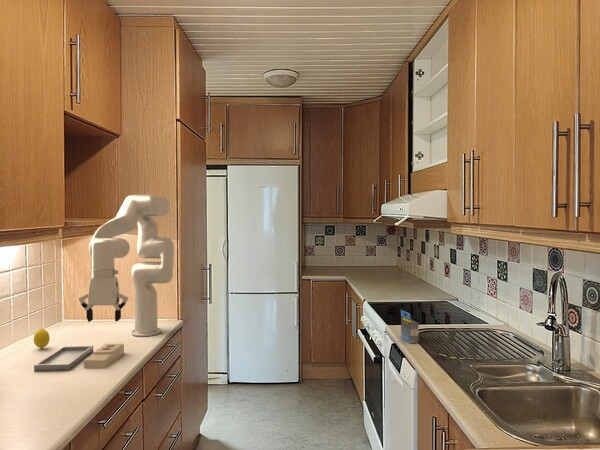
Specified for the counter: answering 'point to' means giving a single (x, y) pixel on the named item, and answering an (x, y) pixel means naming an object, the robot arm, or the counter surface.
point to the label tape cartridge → (408, 328)
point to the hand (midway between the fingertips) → (103, 320)
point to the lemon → (41, 338)
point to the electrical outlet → (104, 356)
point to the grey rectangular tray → (64, 358)
